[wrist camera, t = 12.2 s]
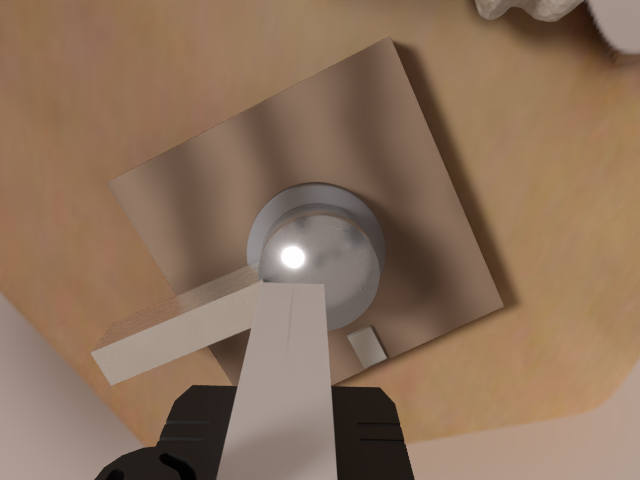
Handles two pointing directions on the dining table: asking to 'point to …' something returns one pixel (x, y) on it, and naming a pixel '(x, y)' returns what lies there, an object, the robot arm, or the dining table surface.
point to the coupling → (251, 292)
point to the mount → (321, 187)
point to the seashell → (527, 8)
